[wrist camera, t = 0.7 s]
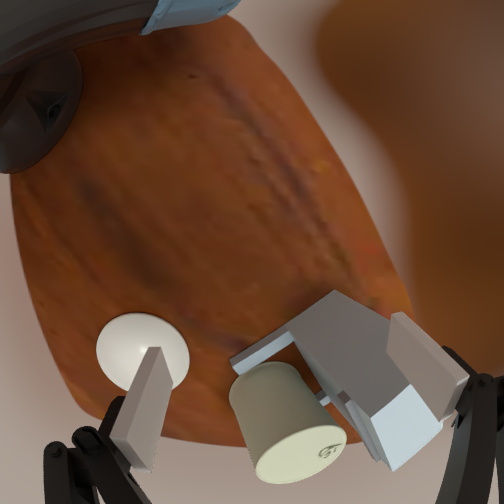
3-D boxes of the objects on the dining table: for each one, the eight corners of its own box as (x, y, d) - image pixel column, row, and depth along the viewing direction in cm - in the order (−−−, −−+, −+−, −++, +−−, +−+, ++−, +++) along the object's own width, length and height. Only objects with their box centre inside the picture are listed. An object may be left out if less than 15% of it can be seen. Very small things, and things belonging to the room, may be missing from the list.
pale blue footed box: (283, 422, 32) (335, 509, 17) (229, 359, 28) (278, 476, 13) (365, 365, 34) (442, 427, 19) (334, 289, 30) (442, 350, 15)
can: (298, 409, 33) (339, 470, 21) (230, 422, 30) (256, 495, 19) (304, 354, 31) (359, 415, 19) (226, 367, 29) (256, 445, 17)
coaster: (81, 331, 24) (79, 333, 23) (163, 297, 25) (163, 299, 25) (128, 401, 26) (127, 404, 26) (204, 375, 28) (204, 378, 27)
